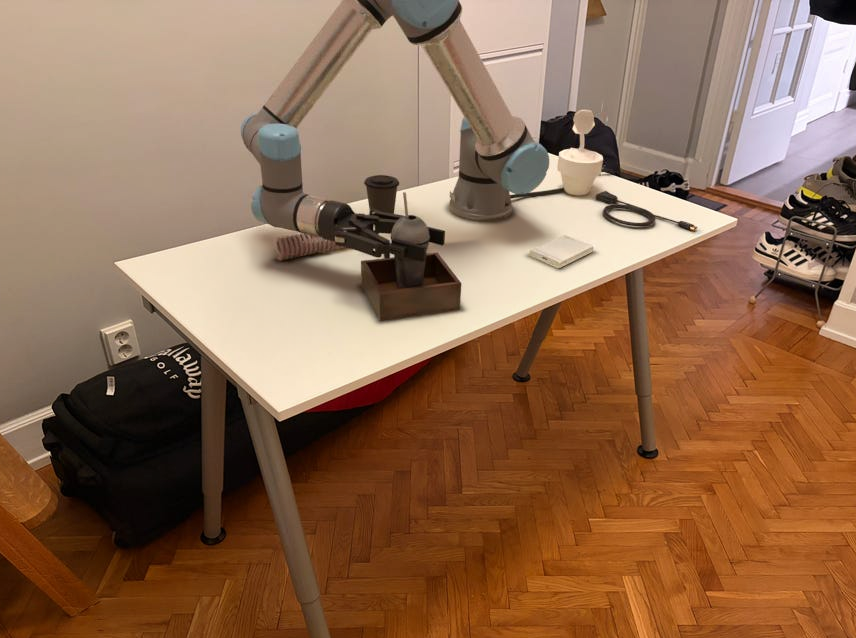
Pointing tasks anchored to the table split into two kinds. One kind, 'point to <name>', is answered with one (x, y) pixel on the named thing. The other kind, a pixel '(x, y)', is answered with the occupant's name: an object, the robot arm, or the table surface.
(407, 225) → the beverage cup
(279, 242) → the coil
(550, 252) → the hard drive
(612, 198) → the cable
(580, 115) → the potted plant
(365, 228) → the robot arm
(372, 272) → the box
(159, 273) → the table surface
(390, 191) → the coffee cup
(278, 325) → the table surface
